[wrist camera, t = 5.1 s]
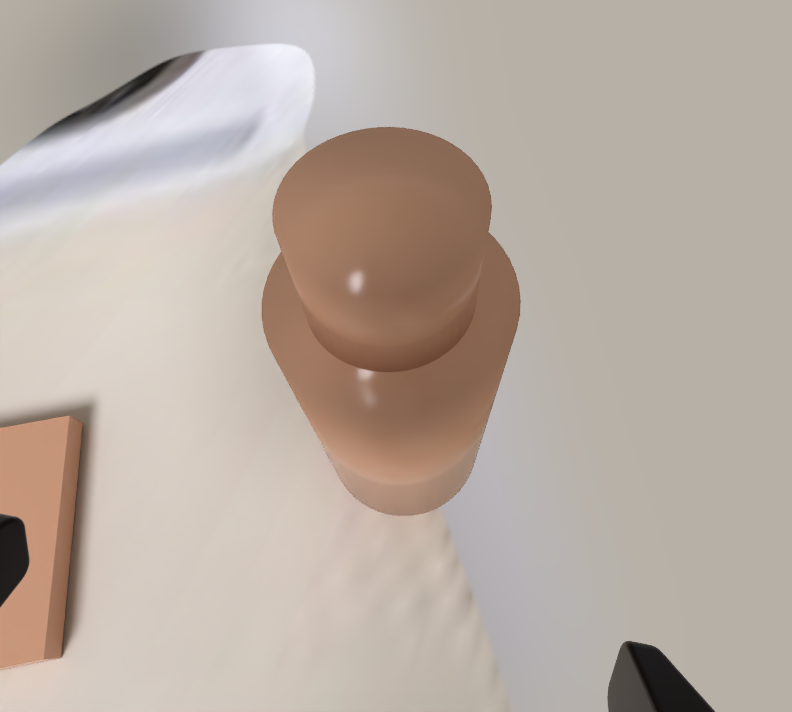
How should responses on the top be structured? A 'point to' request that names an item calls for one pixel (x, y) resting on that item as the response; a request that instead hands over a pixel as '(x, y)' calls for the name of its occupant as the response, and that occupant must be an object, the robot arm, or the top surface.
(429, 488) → the terracotta vase
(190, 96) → the top surface
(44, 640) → the terracotta tile
